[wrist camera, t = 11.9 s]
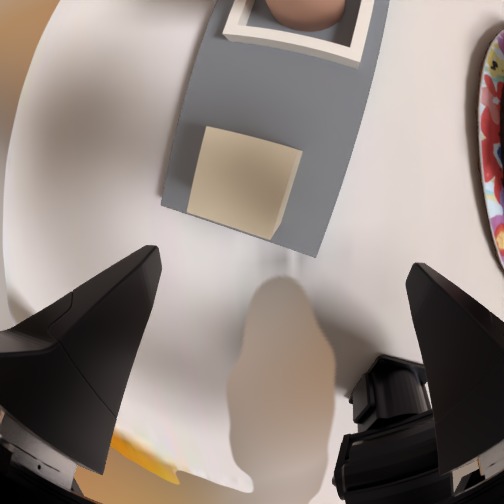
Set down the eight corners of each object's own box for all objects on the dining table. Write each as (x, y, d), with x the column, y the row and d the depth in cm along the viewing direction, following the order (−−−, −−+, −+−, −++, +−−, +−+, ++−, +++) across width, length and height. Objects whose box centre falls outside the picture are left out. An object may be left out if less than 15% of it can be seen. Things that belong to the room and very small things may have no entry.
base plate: (390, -15, 12) (402, -51, 7) (316, 251, 20) (313, 282, 15) (245, -42, 13) (224, -77, 8) (170, 201, 22) (129, 217, 17)
